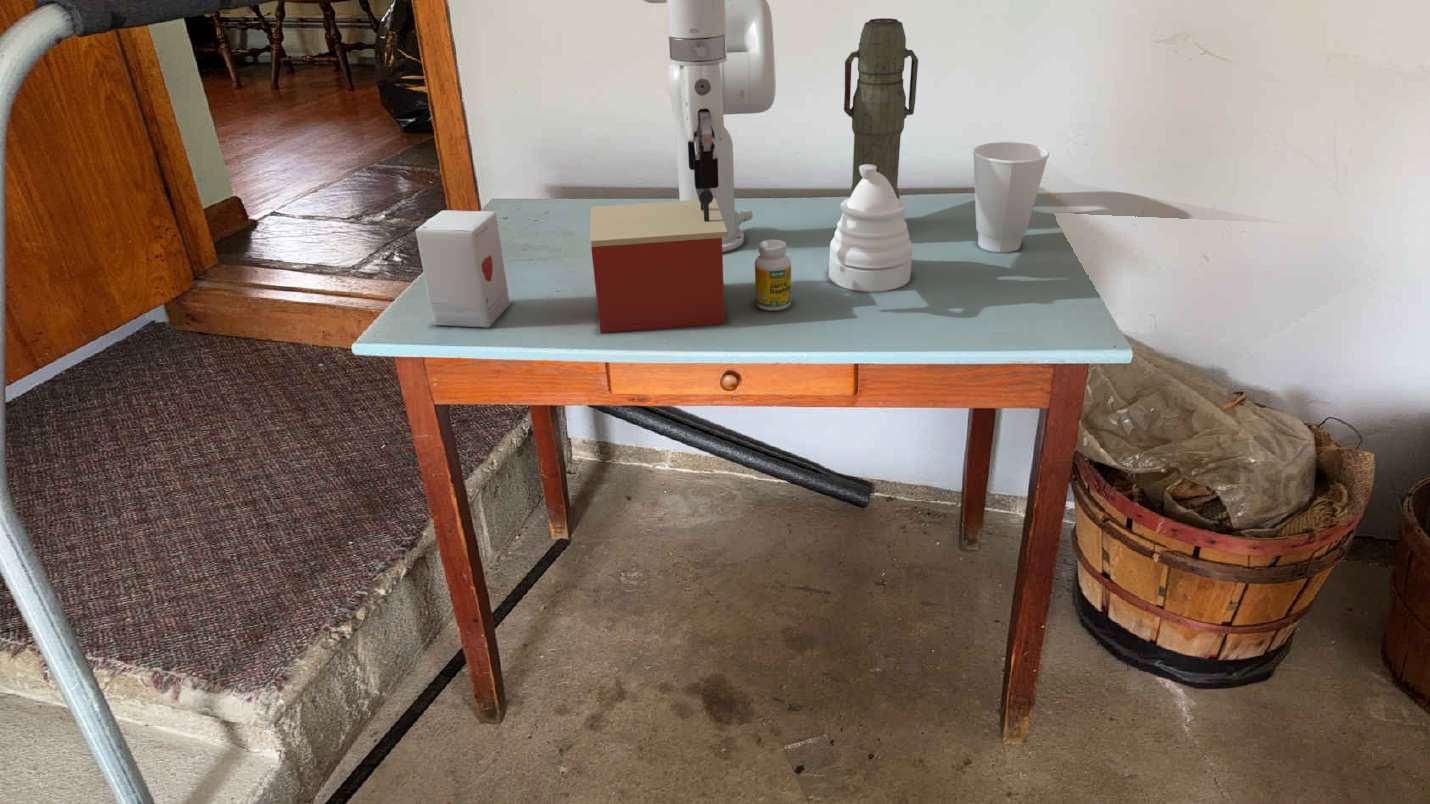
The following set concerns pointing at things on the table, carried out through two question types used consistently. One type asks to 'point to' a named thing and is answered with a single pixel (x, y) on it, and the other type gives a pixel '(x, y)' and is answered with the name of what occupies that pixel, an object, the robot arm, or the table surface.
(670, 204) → the lid
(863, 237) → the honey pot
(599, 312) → the red open box
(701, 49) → the robot arm
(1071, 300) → the table surface
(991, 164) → the cup
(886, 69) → the olive green vase
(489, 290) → the rectangular carton
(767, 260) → the supplement bottle
